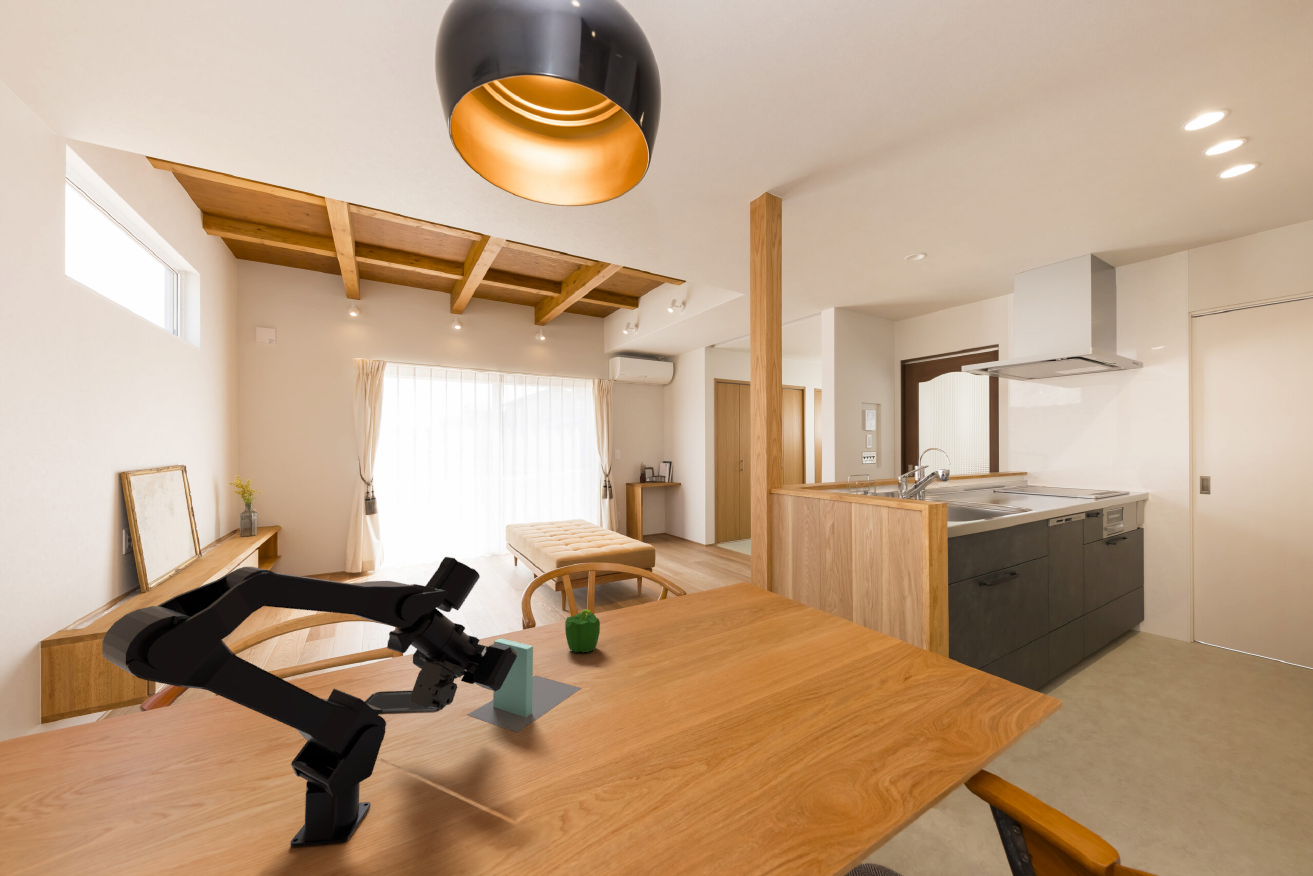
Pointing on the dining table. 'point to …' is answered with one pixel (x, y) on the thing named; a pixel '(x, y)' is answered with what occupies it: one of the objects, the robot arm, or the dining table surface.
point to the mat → (543, 700)
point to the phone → (396, 702)
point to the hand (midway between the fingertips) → (490, 679)
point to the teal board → (517, 681)
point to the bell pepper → (582, 631)
